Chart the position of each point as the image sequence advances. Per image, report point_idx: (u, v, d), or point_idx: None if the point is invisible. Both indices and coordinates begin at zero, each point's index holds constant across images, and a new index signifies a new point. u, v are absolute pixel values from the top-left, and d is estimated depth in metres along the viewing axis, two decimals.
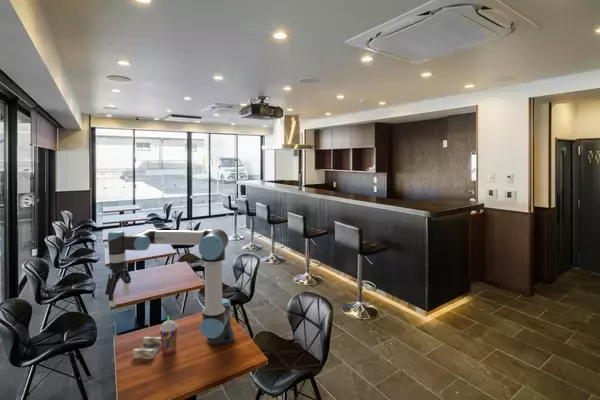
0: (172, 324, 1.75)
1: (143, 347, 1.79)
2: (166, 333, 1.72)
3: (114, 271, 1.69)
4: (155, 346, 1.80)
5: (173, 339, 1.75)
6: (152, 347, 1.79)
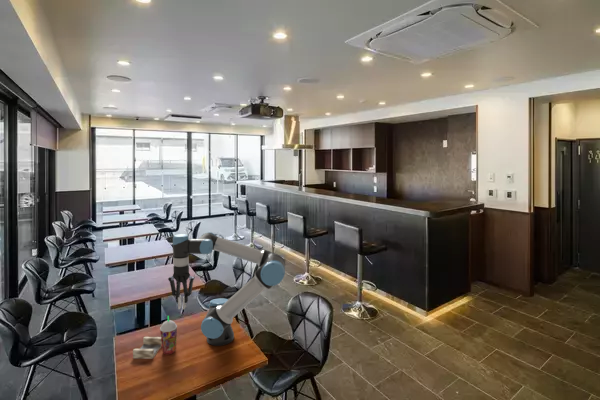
0: (172, 324, 1.75)
1: (143, 347, 1.79)
2: (166, 333, 1.72)
3: None
4: (155, 346, 1.80)
5: (173, 339, 1.75)
6: (152, 347, 1.79)
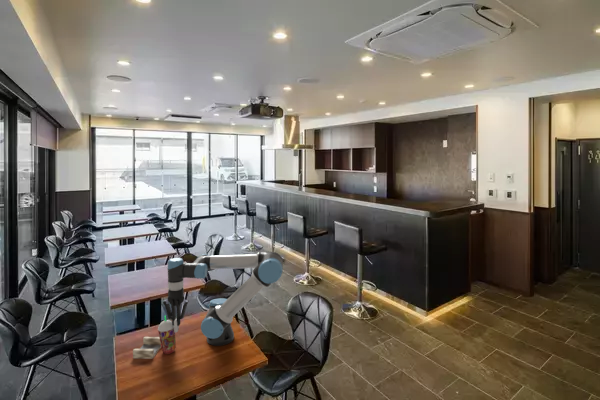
0: (169, 323, 1.75)
1: (143, 347, 1.79)
2: (164, 333, 1.72)
3: None
4: (155, 346, 1.80)
5: (172, 338, 1.75)
6: (152, 347, 1.79)
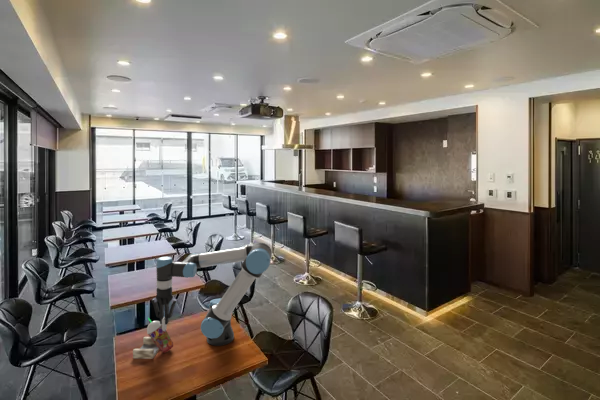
0: (155, 323, 1.75)
1: (143, 347, 1.79)
2: (153, 333, 1.72)
3: None
4: (155, 346, 1.80)
5: (164, 335, 1.75)
6: (152, 347, 1.79)
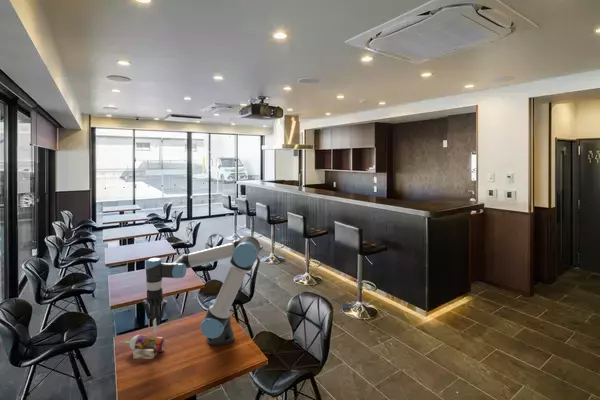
0: (132, 339, 1.75)
1: None
2: (136, 347, 1.73)
3: None
4: None
5: (146, 341, 1.74)
6: None
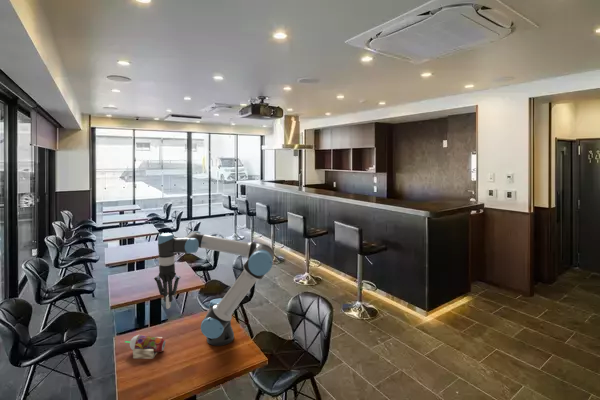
0: (132, 339, 1.75)
1: None
2: (136, 347, 1.73)
3: None
4: None
5: (146, 341, 1.74)
6: None
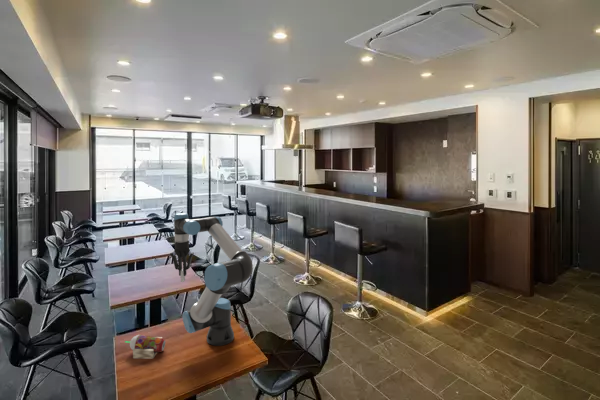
0: (132, 339, 1.75)
1: None
2: (136, 347, 1.73)
3: None
4: None
5: (146, 341, 1.74)
6: None
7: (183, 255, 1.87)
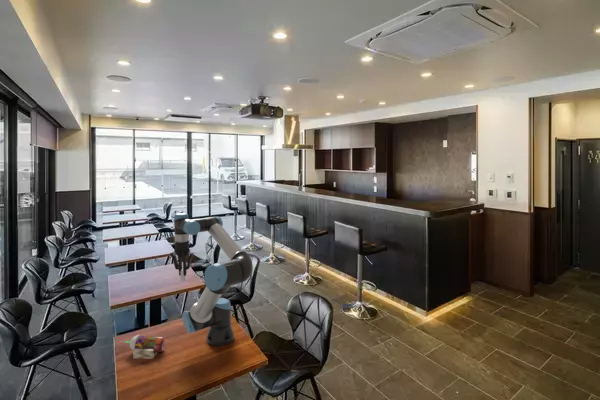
0: (132, 339, 1.75)
1: None
2: (136, 347, 1.73)
3: None
4: None
5: (146, 341, 1.74)
6: None
7: (183, 255, 1.87)
